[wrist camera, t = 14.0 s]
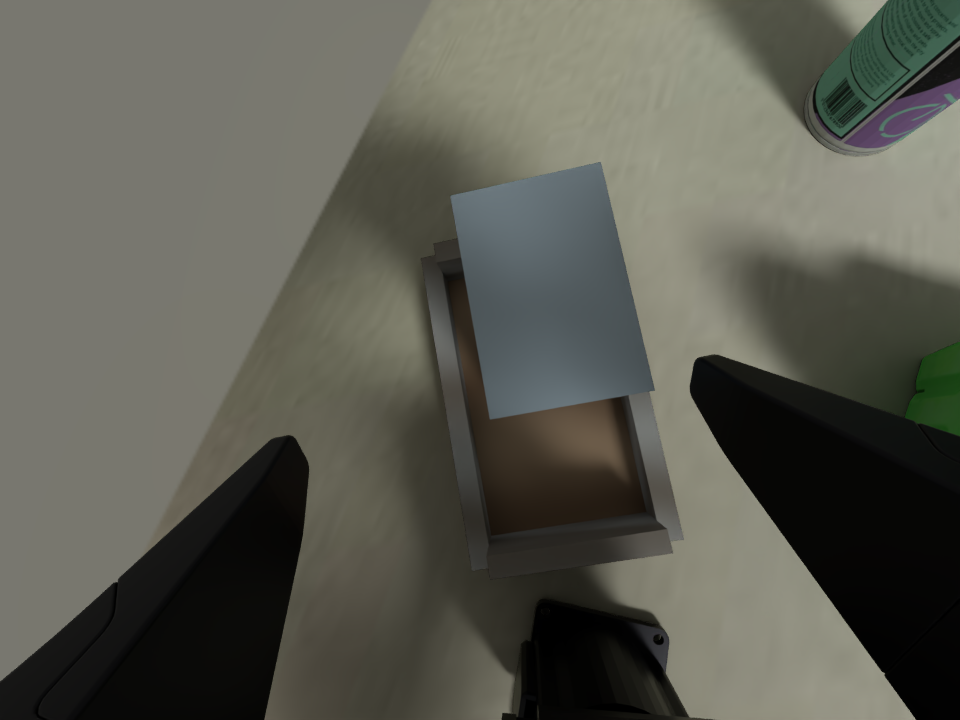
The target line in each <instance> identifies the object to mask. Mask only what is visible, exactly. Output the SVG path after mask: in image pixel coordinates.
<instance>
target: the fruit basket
mask: <svg viewBox="0 0 960 720" xmlns="http://www.w3.org/2000/svg"><path fill="white" fill-rule="evenodd" d="M916 391H917V392H918V393H917V394H915V395H914V397H913V398H912V399H911V401H910V403H909V406H908V409H907V412H906V415H905V418H907V419H910V420H913V421H915V422H916V423H917V424H918V423H922V424H925V425H928V426H931V427H934V428H937V429H940V430H943V431H946V432H949V433H952V434H955V435H958V436H960V342H958V343H955V344H953V345H951V346H948V347H946V348H944V349H942V350H939V351H937V352H935V353H933V354H930V355H928V356H926V357H924V358H923V360H922V362H921V366H920V369H919V373H918V376H917V379H916Z"/></svg>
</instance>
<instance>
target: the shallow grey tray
mask: <svg viewBox="0 0 960 720" xmlns="http://www.w3.org/2000/svg"><path fill="white" fill-rule="evenodd" d="M434 250H435V255H434V256H429V257H424V258H421V261H422V267H423V273H424V280H425V286H426V292H427V298H428V304H429V310H430V316H431V322H432V329H433V335H434V341H435V347H436V353H437V359H438V365H439V372H440V378H441V384H442V390H443V396H444V402H445V408H446V414H447V421H448V427H449V433H450V439H451V445H452V451H453V457H454V464H455V470H456V476H457V482H458V488H459V494H460V500H461V507H462V513H463V519H464V525H465V531H466V537H467V543H468V549H469V556H470V562H471V568H472V571H473V570H480V569H487V568H488V571H489V577H490V580H492V579H498V578H505V577H512V576H519V575H526V574H533V573H540V572H547V571H554V570H561V569H568V568H574V567H581V566H588V565H595V564H602V563H609V562H616V561H623V560H630V559H637V558H644V557H650V556H657V555H664V554H671V553H673V551H672V547H671V543H670V541H677V540H684V538H683V533H682V529H681V525H680V521H679V516H678V512H677V508H676V504H675V499H674V495H673V491H672V487H671V482H670V478H669V474H668V470H667V465H666V461H665V457H664V453H663V448H662V444H661V440H660V436H659V431H658V427H657V423H656V419H655V414H654V410H653V406H652V402H651V397H650V393H649V392H644V393H638V394H632V395H627V396H621V397H615V398H610V399H604V400H598V401H593V402H587V403H581V404H576V405H570V406H564V407H559V408H553V409H547V410H542V411H536V412H530V413H525V414H519V415H513V416H507V417H502V418H496V419H490V417H489V412H488V406H487V400H486V395H485V389H484V383H483V378H482V372H481V366H480V361H479V355H478V349H477V344H476V338H475V332H474V327H473V321H472V315H471V310H470V304H469V298H468V293H467V287H466V282H465V276H464V270H463V265H462V259H461V253H460V248H459V242H458V238H457V239H453V240H448V241H444V242H439V243H434Z"/></svg>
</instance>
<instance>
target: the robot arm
mask: <svg viewBox="0 0 960 720" xmlns="http://www.w3.org/2000/svg"><path fill="white" fill-rule="evenodd" d="M690 393H691V396H692V398H693V400H694V402H695V404H696V405H697V407H698V409H699V411H700V412H701V414H702V416H703V418H704V419H705V421H706V423H707V425H708V426H709V428H710V430H711V432H712V434H713V435H714V437H715V439H716V441H717V442H718V444H719V446H720V447H721V449H722V451H723V452H724V454H725V455H726V457H727V458H728V460H729V461H730V462H731V464H732V465H733V467H734V468H735V469H736V471H737V472H738V473H739V475H740V476H741V478H742V479H743V480H744V482H745V483H746V485H747V486H748V487H749V489H750V490H751V491H752V493H753V494H754V496H755V497H756V498H757V500H758V501H759V503H760V504H761V505H762V507H763V508H764V509H765V511H766V512H767V514H768V515H769V516H770V518H771V519H772V520H773V522H774V523H775V525H776V526H777V527H778V529H779V530H780V532H781V533H782V534H783V536H784V537H785V538H786V540H787V541H788V543H789V544H790V545H791V547H792V548H793V550H794V551H795V552H796V554H797V555H798V556H799V558H800V559H801V561H802V562H803V563H804V565H805V566H806V567H807V569H808V570H809V572H810V573H811V574H812V576H813V577H814V579H815V580H816V581H817V583H818V584H819V585H820V587H821V588H822V590H823V591H824V592H825V594H826V595H827V597H828V598H829V599H830V601H831V602H832V603H833V605H834V606H835V608H836V609H837V610H838V612H839V613H840V614H841V616H842V617H843V619H844V620H845V621H846V623H847V624H848V626H849V627H850V628H851V630H852V631H853V632H854V634H855V635H856V637H857V638H858V639H859V641H860V642H861V644H862V645H863V646H864V648H865V649H866V650H867V652H868V653H869V655H870V656H871V657H872V659H873V660H874V661H875V663H876V664H877V666H878V667H879V668H880V670H881V671H882V672H884V673H885V674H884V675H885V677H886V679H887V680H888V681H889V683H890V684H891V686H892V687H893V688H894V690H895V691H896V692H897V694H898V695H899V697H900V698H901V699H902V701H903V702H904V703H905V705H906V706H907V708H908V709H909V710H910V712H911V713H912V715H913V716H914V717H915V719H916V720H960V436H958V435H955V434H952V433H949V432H946V431H943V430H940V429H937V428H934V427H931V426H928V425H925V424H922V423H918V424H917V423H916V422H915V421H913V420H910V419H907V418H904V417H901V416H898V415H895V414H892V413H889V412H886V411H883V410H880V409H877V408H874V407H872V406H869V405H866V404H863V403H860V402H857V401H854V400H851V399H848V398H845V397H842V396H839V395H836V394H833V393H830V392H827V391H824V390H821V389H818V388H815V387H812V386H809V385H806V384H803V383H800V382H797V381H794V380H791V379H788V378H785V377H782V376H779V375H776V374H773V373H770V372H767V371H764V370H761V369H758V368H756V367H753V366H750V365H747V364H744V363H741V362H738V361H735V360H732V359H729V358H726V357H723V356H720V355H715V354H714V355H708V356H703V357H699V358H697V359H696V360H695V362H694V366H693V372H692V377H691V382H690ZM308 477H309V465H308V461H307V459H306V457H305V455H304V453H303V452H302V450H301V448H300V446H299V444H298V442H297V440H296V439H295V438H294V437H293V436H291V435H287V436H282V437H276V438H273V439H271V440H270V441H269V442H268V443H266V444H265V445H264V446H263V447H262V448H261V449H260V450H259V451H258V452H257V453H256V454H254V455H253V456H252V457H251V458H250V459H249V460H248V461H247V462H246V463H245V464H243V465H242V466H241V467H240V468H239V469H238V470H237V471H236V472H235V473H234V474H233V475H231V476H230V477H229V478H228V479H227V480H226V481H225V482H224V483H223V484H222V485H220V486H219V487H218V488H217V489H216V490H215V491H214V492H213V493H212V494H211V495H209V496H208V497H207V498H206V499H205V500H204V501H203V502H202V503H201V504H200V505H199V506H197V507H196V508H195V509H194V510H193V511H192V512H191V513H190V514H189V515H188V516H186V517H185V518H184V519H183V520H182V521H181V522H180V523H179V524H178V525H177V526H175V527H174V528H173V529H172V530H171V531H170V532H169V533H168V534H167V535H166V536H165V537H163V538H162V539H161V540H160V541H159V542H158V543H157V544H156V545H155V546H154V547H152V548H151V549H150V550H149V551H148V552H147V553H146V554H145V555H144V556H143V557H141V558H140V559H139V560H138V561H137V562H136V563H135V564H134V565H133V566H132V567H131V568H129V569H128V570H127V571H126V572H125V573H124V574H123V575H122V576H121V577H120V578H119V579H118V582H115V583H113V584H112V585H111V586H110V587H109V588H107V589H106V590H105V591H104V592H103V593H102V594H101V595H100V596H99V597H98V598H96V599H95V600H94V601H93V602H92V603H91V604H90V605H89V606H88V607H86V608H85V609H84V610H83V611H82V612H81V613H80V614H79V615H77V616H76V617H75V618H74V619H73V620H72V621H71V622H70V623H68V624H67V625H66V626H65V627H64V628H63V629H62V630H61V631H60V632H58V633H57V634H56V635H55V636H54V637H53V638H52V639H50V640H49V641H48V642H47V643H45V644H44V645H43V646H42V647H41V648H40V649H38V650H37V651H36V652H35V653H34V654H32V656H30V657H29V658H28V659H27V660H25V661H24V662H23V663H22V664H21V665H20V666H18V667H17V668H16V669H15V670H14V671H12V672H11V673H10V674H9V675H7V676H6V677H5V678H4V679H3V680H2V681H0V720H264V718H265V714H266V709H267V704H268V699H269V695H270V690H271V685H272V681H273V676H274V671H275V666H276V662H277V657H278V652H279V647H280V643H281V638H282V633H283V628H284V624H285V619H286V614H287V609H288V605H289V600H290V595H291V590H292V586H293V581H294V576H295V572H296V567H297V562H298V557H299V553H300V548H301V542H302V537H303V529H304V520H305V509H306V499H307V488H308ZM543 608H548V609H549V610H550V612H549V613H548V614H543V613H541V609H543ZM656 634H660V635H661V638H660V640H658V641H655V640H653V637H654V635H656ZM668 648H669V637H668V635H667V633H666V632H665V630H664V629H663V628H662V627H661V626H659V625H656V624H652V623H648V622H644V621H639V620H635V619H631V618H626V617H622V616H618V615H613V614H609V613H605V612H600V611H596V610H592V609H587V608H583V607H579V606H574V605H570V604H566V603H562V602H557V601H553V600H549V599H541V600H539V601H538V602H537V604H536V607H535V613H534V620H533V626H532V633H531V639H530V641H528V640H525V641H524V642H523V643H522V644H521V649H520V655H519V662H518V668H517V675H516V682H515V688H514V696H513V714H511V713H502V720H713V719H701V718H690V717H689V715H688V714H687V712H686V710H685V708H684V706H683V704H682V703H681V701H680V699H679V697H678V695H677V693H676V692H675V690H674V688H673V686H672V684H671V682H670V680H669V679H668V677H667V675H666V665H667V656H668Z"/></svg>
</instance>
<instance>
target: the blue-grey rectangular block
mask: <svg viewBox="0 0 960 720" xmlns="http://www.w3.org/2000/svg"><path fill="white" fill-rule="evenodd" d="M450 197H451V202H452V208H453V214H454V219H455V225H456V231H457V236H458V242H459V248H460V253H461V259H462V265H463V270H464V276H465V282H466V287H467V293H468V298H469V304H470V310H471V315H472V321H473V327H474V332H475V338H476V344H477V349H478V355H479V361H480V366H481V372H482V378H483V383H484V389H485V395H486V400H487V406H488V412H489V417H490V419H496V418H502V417H507V416H513V415H519V414H525V413H530V412H536V411H542V410H547V409H553V408H559V407H564V406H570V405H576V404H581V403H587V402H593V401H598V400H604V399H610V398H615V397H621V396H627V395H632V394H638V393H644V392H649V391H655V389H654V385H653V381H652V376H651V372H650V368H649V364H648V359H647V355H646V351H645V347H644V343H643V338H642V334H641V330H640V326H639V321H638V317H637V313H636V309H635V304H634V300H633V296H632V292H631V288H630V283H629V279H628V275H627V271H626V266H625V262H624V258H623V254H622V249H621V245H620V241H619V237H618V233H617V228H616V224H615V220H614V216H613V211H612V207H611V203H610V199H609V195H608V190H607V186H606V182H605V178H604V173H603V169H602V165H601V162H598V163H594V164H589V165H585V166H581V167H576V168H572V169H567V170H563V171H558V172H554V173H549V174H545V175H540V176H536V177H531V178H527V179H522V180H518V181H514V182H509V183H505V184H500V185H496V186H491V187H487V188H482V189H478V190H473V191H469V192H464V193H460V194H455V195H451V196H450Z"/></svg>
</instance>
